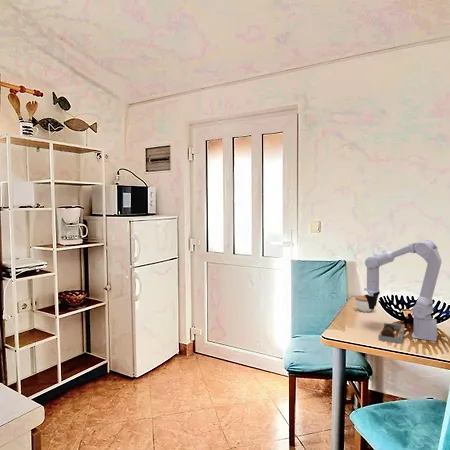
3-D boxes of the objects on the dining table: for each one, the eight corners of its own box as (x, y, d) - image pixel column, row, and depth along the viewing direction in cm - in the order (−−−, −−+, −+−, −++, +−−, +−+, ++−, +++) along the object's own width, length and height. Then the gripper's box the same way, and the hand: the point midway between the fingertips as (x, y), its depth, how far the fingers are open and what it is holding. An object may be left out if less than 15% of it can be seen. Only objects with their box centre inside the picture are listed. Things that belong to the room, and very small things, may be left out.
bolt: (391, 334, 173) (389, 343, 160) (381, 328, 176) (378, 336, 162) (397, 325, 172) (396, 333, 159) (387, 318, 174) (386, 326, 161)
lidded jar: (351, 309, 212) (351, 293, 212) (364, 307, 217) (364, 292, 216) (365, 314, 202) (365, 297, 202) (379, 311, 207) (379, 295, 206)
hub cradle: (404, 329, 175) (404, 323, 175) (401, 343, 156) (401, 337, 156) (383, 326, 179) (384, 321, 179) (378, 340, 161) (378, 333, 161)
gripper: (366, 277, 188) (366, 303, 188) (362, 282, 175) (362, 309, 176) (380, 278, 185) (380, 304, 185) (377, 283, 172) (377, 311, 172)
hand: (372, 307), depth 180 cm, fingers open, 7 cm apart
